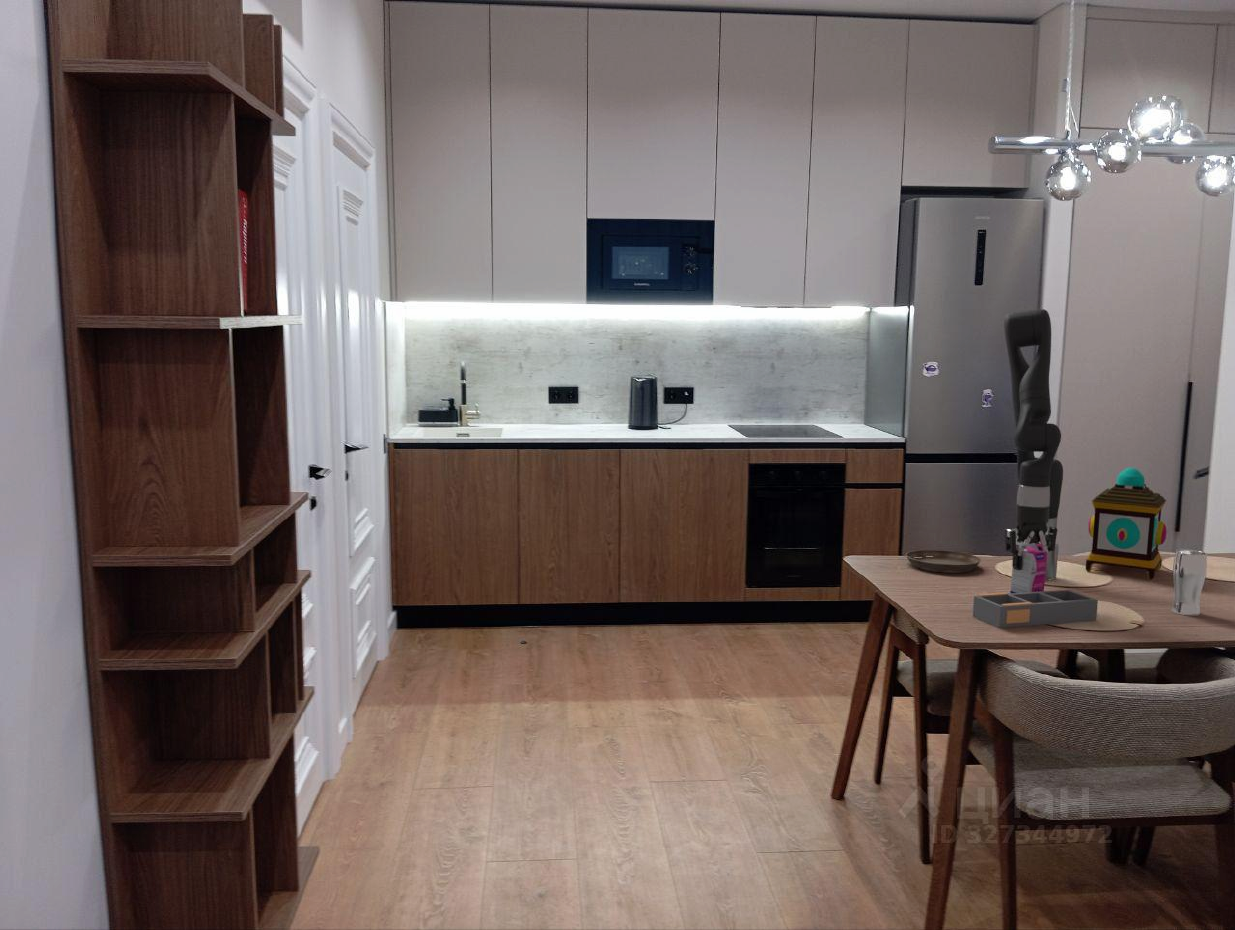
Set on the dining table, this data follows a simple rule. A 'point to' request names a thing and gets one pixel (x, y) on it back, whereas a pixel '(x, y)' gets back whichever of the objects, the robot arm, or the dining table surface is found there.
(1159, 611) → the dining table surface
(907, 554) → the plant saucer
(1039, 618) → the rack
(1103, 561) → the decorative lantern
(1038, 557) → the supplement box
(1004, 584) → the dining table surface
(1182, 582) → the beer glass
